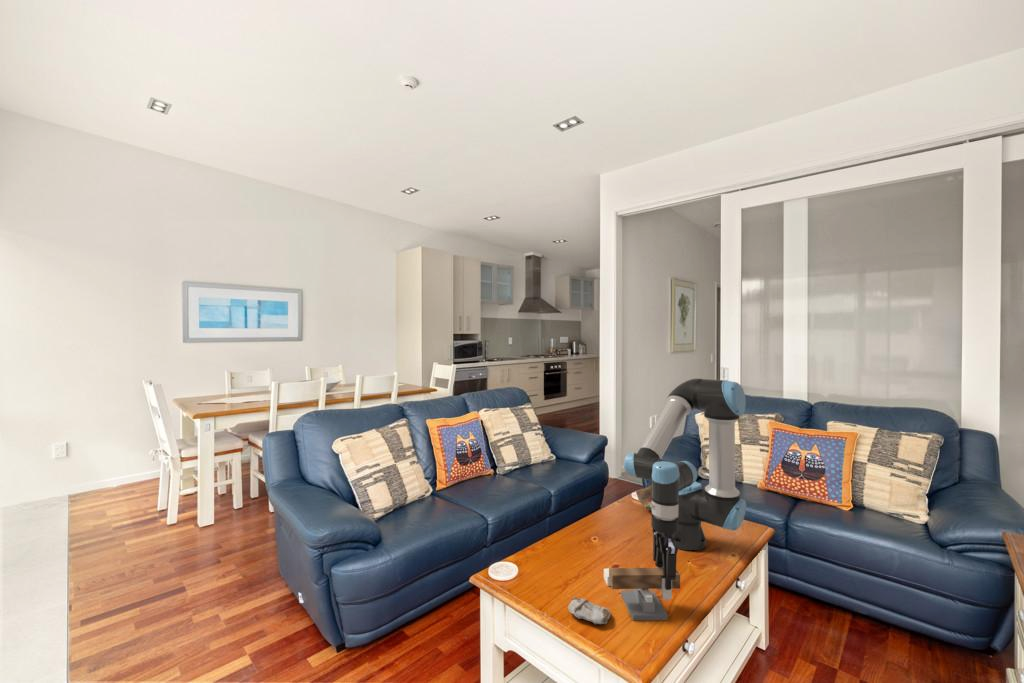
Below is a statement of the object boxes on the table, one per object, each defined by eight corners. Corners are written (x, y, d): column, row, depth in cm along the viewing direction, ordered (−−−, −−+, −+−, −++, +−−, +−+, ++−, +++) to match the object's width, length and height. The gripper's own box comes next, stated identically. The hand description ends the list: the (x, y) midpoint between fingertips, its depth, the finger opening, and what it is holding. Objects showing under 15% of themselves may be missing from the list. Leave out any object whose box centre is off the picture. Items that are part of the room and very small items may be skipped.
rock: (662, 506, 207) (662, 485, 206) (665, 517, 194) (665, 495, 194) (635, 504, 209) (635, 483, 209) (636, 514, 197) (636, 492, 197)
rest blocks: (634, 577, 146) (635, 568, 146) (639, 585, 141) (639, 576, 141) (603, 577, 145) (603, 568, 145) (607, 586, 140) (607, 576, 140)
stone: (562, 617, 125) (563, 606, 125) (575, 601, 133) (575, 590, 133) (603, 632, 119) (603, 620, 119) (613, 614, 127) (613, 603, 127)
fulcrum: (652, 594, 136) (653, 575, 136) (667, 620, 124) (668, 599, 124) (621, 595, 135) (621, 576, 135) (633, 620, 123) (633, 599, 123)
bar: (674, 580, 132) (674, 567, 132) (680, 588, 128) (680, 574, 128) (608, 581, 131) (609, 568, 131) (612, 589, 127) (612, 575, 127)
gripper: (642, 504, 138) (641, 578, 138) (663, 528, 121) (661, 612, 121) (666, 504, 138) (665, 577, 138) (689, 528, 121) (688, 611, 121)
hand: (663, 593), depth 130 cm, fingers closed on bar, 4 cm apart
